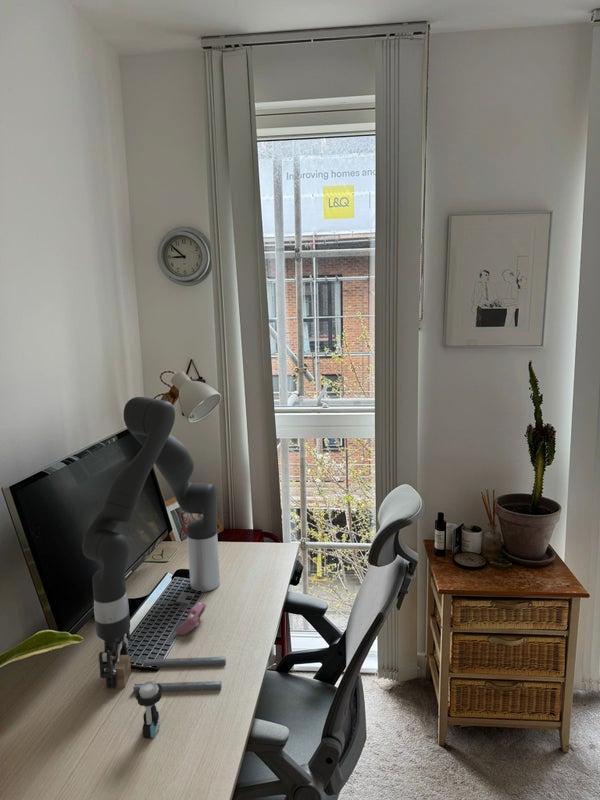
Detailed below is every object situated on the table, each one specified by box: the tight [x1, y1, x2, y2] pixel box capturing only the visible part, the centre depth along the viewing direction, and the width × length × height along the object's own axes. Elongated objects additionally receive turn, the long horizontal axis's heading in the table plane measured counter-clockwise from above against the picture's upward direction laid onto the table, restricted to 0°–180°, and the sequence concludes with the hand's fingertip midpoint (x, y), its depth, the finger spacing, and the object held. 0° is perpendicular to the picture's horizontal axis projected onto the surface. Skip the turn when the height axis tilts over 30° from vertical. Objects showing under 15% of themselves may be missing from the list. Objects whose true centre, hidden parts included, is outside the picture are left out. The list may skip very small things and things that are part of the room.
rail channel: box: [132, 656, 227, 694], centre depth 127 cm, size 10×20×2 cm, turn 91°
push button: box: [135, 680, 163, 739], centre depth 111 cm, size 7×5×10 cm
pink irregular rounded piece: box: [175, 601, 207, 636], centre depth 146 cm, size 10×5×7 cm, turn 170°
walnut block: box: [101, 654, 132, 690], centre depth 126 cm, size 5×5×5 cm
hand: (118, 674), depth 126 cm, fingers open, 8 cm apart
